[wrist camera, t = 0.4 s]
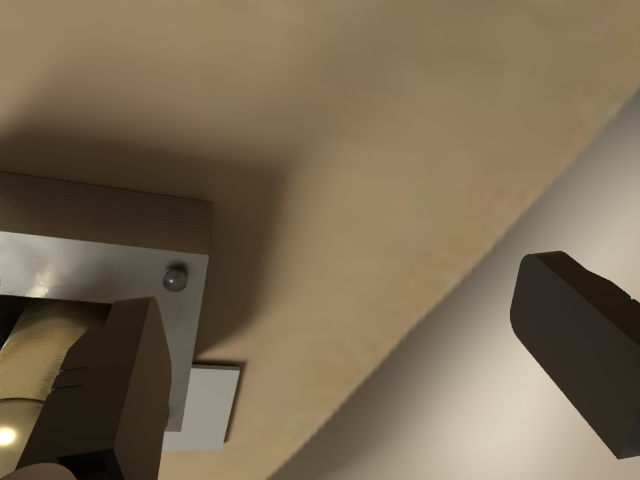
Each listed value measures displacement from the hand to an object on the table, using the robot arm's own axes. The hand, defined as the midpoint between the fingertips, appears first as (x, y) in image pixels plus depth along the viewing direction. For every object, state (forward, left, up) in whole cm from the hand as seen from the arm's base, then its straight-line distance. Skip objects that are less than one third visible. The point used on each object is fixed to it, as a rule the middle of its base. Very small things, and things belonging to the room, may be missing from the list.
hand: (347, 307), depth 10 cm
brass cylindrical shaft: (+14, -9, -19) cm, 26 cm away
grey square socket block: (+14, -9, -19) cm, 26 cm away
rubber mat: (+26, -3, -19) cm, 33 cm away
